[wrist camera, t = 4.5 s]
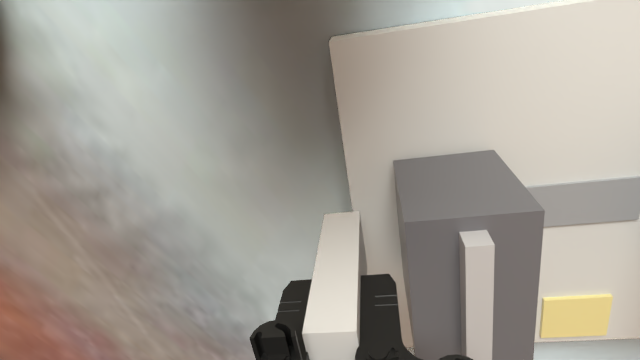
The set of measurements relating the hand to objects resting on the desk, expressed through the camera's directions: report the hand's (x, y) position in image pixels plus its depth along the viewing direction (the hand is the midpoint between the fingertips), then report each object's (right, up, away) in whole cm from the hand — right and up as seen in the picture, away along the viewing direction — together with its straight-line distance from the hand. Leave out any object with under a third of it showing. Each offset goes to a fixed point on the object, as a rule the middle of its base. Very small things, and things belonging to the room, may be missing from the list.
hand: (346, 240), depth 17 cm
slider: (+4, +1, +1) cm, 4 cm away
